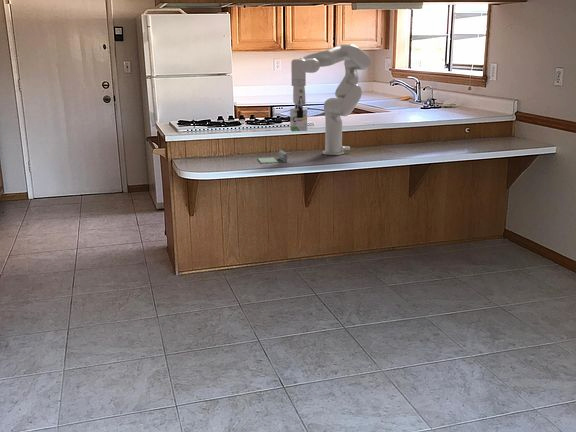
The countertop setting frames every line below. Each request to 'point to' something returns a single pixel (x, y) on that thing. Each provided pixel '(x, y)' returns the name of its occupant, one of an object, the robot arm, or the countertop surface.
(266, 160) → the pad
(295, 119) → the ink box
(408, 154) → the countertop surface
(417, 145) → the countertop surface
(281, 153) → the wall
